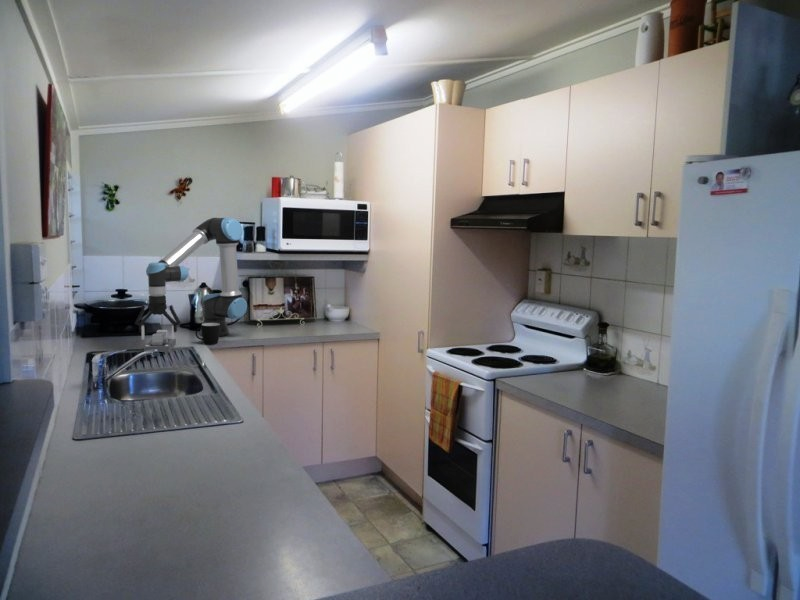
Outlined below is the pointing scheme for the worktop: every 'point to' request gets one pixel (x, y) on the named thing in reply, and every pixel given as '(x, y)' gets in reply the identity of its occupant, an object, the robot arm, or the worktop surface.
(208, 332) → the mug
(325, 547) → the worktop surface
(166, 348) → the grey blocky piece
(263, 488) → the worktop surface
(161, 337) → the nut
